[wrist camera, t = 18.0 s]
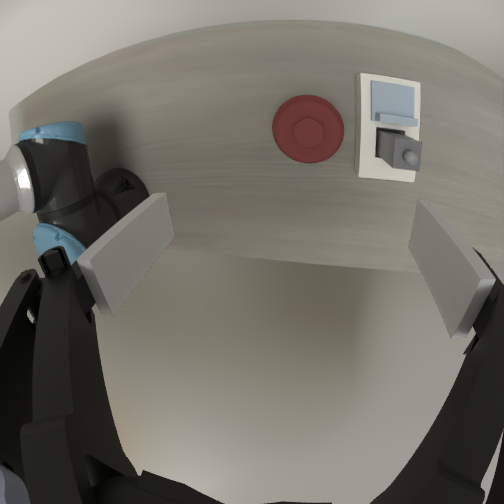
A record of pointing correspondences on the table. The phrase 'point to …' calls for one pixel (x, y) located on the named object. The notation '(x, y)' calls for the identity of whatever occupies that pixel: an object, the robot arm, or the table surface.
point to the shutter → (392, 103)
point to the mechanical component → (308, 129)
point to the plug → (398, 149)
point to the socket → (365, 155)
